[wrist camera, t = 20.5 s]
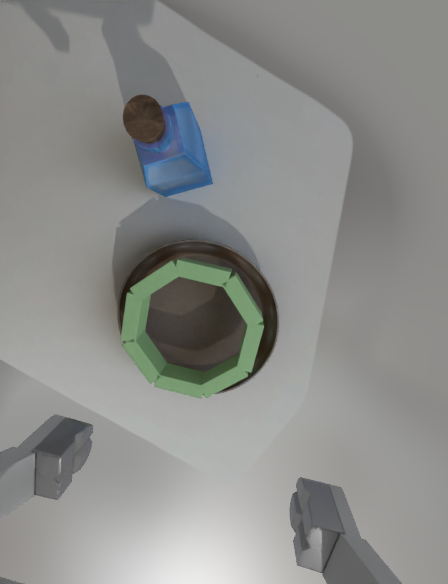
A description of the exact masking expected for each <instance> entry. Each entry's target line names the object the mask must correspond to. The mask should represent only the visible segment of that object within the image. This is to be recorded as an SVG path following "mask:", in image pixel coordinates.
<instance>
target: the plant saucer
mask: <svg viewBox="0 0 448 584" xmlns="http://www.w3.org/2000/svg"><path fill="white" fill-rule="evenodd" d="M181 258H188V259H192V260H197V261H201V262H205V263H210V264H214V265H218V266H222V267H227V268H231V269H232V271H231V275H232V274H233V273H235V272H237V274H238V275H239V277H240V279H241V280H242V282H243V283H244V285H245V287H246V288H247V290H248V291H249V293H250V295H251V296H252V298H253V300H254V301H255V303H256V304H257V306H258V308H259V309H260V311H261V312H262V317H263V323H264V328H263V332H262V336H261V339H260V343H259V347H258V350H257V354H256V358H255V361H254V365H253V368H252V372H248V377H246V378H244V379H242V380H240V381H238V382H236V383H234V384H232V385H230V386H229V387H227V388H225V389H223V390H221V391H219V392H217V393H215V394H219V393H224V392H227V391H230V390H233V389H235V388H238V387H240V386H241V385H243V384H245V383H246V382H248V381H249V380H251V379H252V378H253V377H254V376H256V375H257V374H258V373H259V372H260V371H261V369H262V368H263V367H264V366H265V364H266V363H267V362H268V360H269V358H270V356H271V355H272V352H273V350H274V348H275V345H276V342H277V337H278V332H279V312H278V306H277V302H276V299H275V296H274V293H273V291H272V288H271V287H270V285H269V283H268V281H267V280H266V278H265V277H264V275H263V274H262V273H261V271H260V270H259V269H258V268H257V267H256V266H255V265H254V264H253V263H252V262H251V261H250V260H249V259H247V258H246V257H245V256H243V255H242V254H240V253H239V252H237V251H235V250H233V249H231V248H229V247H227V246H224V245H222V244H219V243H215V242H211V241H205V240H183V241H177V242H173V243H169V244H166V245H164V246H161V247H159V248H157V249H155V250H153V251H152V252H150V253H149V254H147V255H146V256H145V257H143V258H142V259H141V260H140V261H139V262H138V263H137V264H136V265H135V266H134V268H133V269H132V270H131V272H130V273H129V275H128V276H127V278H126V280H125V282H124V284H123V287H122V289H121V293H120V296H119V301H118V324H119V330H120V333H121V332H122V325H123V318H124V311H125V303H126V296H127V293H128V292H130V291H131V290H130V288H131V287H132V286H134V285H135V284H137V283H138V282H140V281H141V280H143V279H144V278H146V277H147V276H149V275H150V274H152V273H153V272H155V271H157V270H158V269H160V268H161V267H163V266H164V265H166V264H167V263H169V262H170V261H172V260H175V259H181ZM245 324H246V322H245V321H244V319H243V318H242V316H241V314H240V313H239V311H238V310H237V308H236V307H235V305H234V303H233V302H232V300H231V299H230V297H229V296H228V294H227V292H226V291H225V289H224V288H223V287H220V286H216V285H212V284H208V283H203V282H199V281H195V280H191V279H187V278H182V277H177V278H176V279H174V280H173V281H171V282H169V283H168V284H166V285H165V286H163V287H162V288H160V289H159V290H157V291H155V292H154V293H152V294H151V298H150V304H149V310H148V316H147V323H146V329H145V332H146V334H147V335H148V336H149V338H150V339H151V341H152V342H153V343H154V345H155V346H156V348H157V349H158V350H159V352H160V353H161V355H162V356H163V358H164V359H165V360H166V362H167V363H169V364H173V365H177V366H181V367H185V368H189V369H193V370H197V371H201V372H206V371H208V370H210V369H212V368H214V367H216V366H217V365H219V364H221V363H223V362H225V361H227V360H228V359H230V358H232V357H234V356H236V355H238V351H239V348H240V344H241V340H242V336H243V332H244V328H245ZM123 342H126V341H123ZM203 395H204V394H203ZM213 395H214V394H213Z"/></svg>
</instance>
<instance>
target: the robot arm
mask: <svg viewBox="0 0 448 584" xmlns="http://www.w3.org/2000/svg"><path fill="white" fill-rule="evenodd" d="M92 433H93V425H91V424H89V423H85V422H81V421H78V420H75V419H71V418H67V417H63V416H60V415H54V416H52V417H50V418H49V419H48V420H47V421H46V422H45V423H44V424H42V425H41V426H40V427H39V428H38V429H37V430H36V431H35V432H34V433H33V434H32V435H30V436H29V437H28V438H27V439H26V440H25V441H24V442H23V443H22V444H21V445H20V446H18V447H17V448H16V447H12V448H9V449H7V450H4V451H2V452H0V519H1V518H3V517H4V516H5V515H7V514H9V513H10V512H11V511H13V510H14V509H16V508H17V507H19V506H20V505H22V504H23V503H25V502H26V501H28V500H29V499H31V498H32V497H34V495H38V496H43V497H47V498H51V499H56V500H59V498H60V497H61V495H62V494H63V493H64V491H65V490H66V489H67V487H68V486H69V484H70V483H71V482H72V474H74V473H75V472H77V471H79V470H80V469H81V468H82V466H83V465H84V463H85V462H86V460H87V458H88V456H89V454H90V450H91V446H92V441H91V440H90V438H89V437H90V435H91V434H92ZM296 487H297V492H295V493H293V495H292V498H291V503H290V521H291V526H292V528H293V529H294V531H295V533H296V535H295V538H294V540H293V542H294V549H295V556H296V562H297V565H298V566H301V567H305V568H308V569H311V570H314V571H317V572H320V573H323V577H324V579H325V580H326V582H327V584H402V583H401V582H400V581H399V579H398V578H397V577H396V576H395V575H394V573H393V572H392V571H391V570H390V569H389V567H388V566H387V565H386V564H385V563H384V561H383V560H382V559H381V558H380V557H379V555H378V554H377V553H376V552H375V551H374V549H373V548H372V547H371V546H370V545H369V543H368V542H367V541H366V540H364V539H361V537H360V534H359V531H358V529H357V526H356V523H355V521H354V518H353V515H352V513H351V510H350V508H349V505H348V502H347V500H346V497H345V494H344V492H343V490H342V488H341V487H337V486H333V485H330V484H326V483H322V482H318V481H314V480H310V479H305V478H301V477H300V478H299V479H298V481H297V484H296ZM0 584H23V583H19V582H16V581H12V580H9V579H5V578H2V577H0Z"/></svg>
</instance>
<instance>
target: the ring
mask: <svg viewBox="0 0 448 584" xmlns="http://www.w3.org/2000/svg"><path fill="white" fill-rule="evenodd" d="M231 271H232V269H231V268H227V267H222V266H218V265H214V264H210V263H205V262H201V261H197V260H192V259H188V258H181V259H175V260H172V261H170V262H169V263H167V264H166V265H164V266H163V267H161V268H160V269H158V270H157V271H155V272H153V273H152V274H150V275H149V276H147V277H146V278H144V279H143V280H141V281H140V282H138V283H137V284H135V285H134V286H132V287H131V288H130V290H131V291H130V292H128V293H127V296H126V303H125V311H124V318H123V325H122V332H121V340H122V341H126V342H124V343H123V344H122V346H123V348H124V349H125V350H126V352H127V353H128V354H129V356H130V357H131V358H132V360H133V361H134V363H135V364H136V365H137V367H138V368H139V369H140V371H141V372H142V374H143V375H144V376H145V378H146V379H147V380H148V382H149V383H150V384H151V383H153V382H155V387H157V388H161V389H165V390H169V391H173V392H177V393H181V394H185V395H189V396H193V397H197V398H202V395H203V394H204V396H205V397H206V398H207V397H209V396H211V395H213V394H215V393H217V392H219V391H221V390H223V389H225V388H227V387H229V386H230V385H232V384H234V383H236V382H238V381H240V380H242V379H244V378H246V377H248V372H252V368H253V365H254V361H255V358H256V354H257V350H258V347H259V343H260V339H261V336H262V332H263V328H264V323H263V317H262V312H261V311H260V309H259V308H258V306H257V304H256V303H255V301H254V300H253V298H252V296H251V295H250V293H249V291H248V290H247V288H246V287H245V285H244V283H243V282H242V280H241V279H240V277H239V275H238V274H237V272H235V273H233V274H232V275H231ZM177 277H182V278H187V279H191V280H195V281H199V282H203V283H208V284H212V285H216V286H220V287H223V288H224V289H225V291H226V292H227V294H228V296H229V297H230V299H231V300H232V302H233V303H234V305H235V307H236V308H237V310H238V311H239V313H240V314H241V316H242V318H243V319H244V321H245V322H246V324H245V328H244V332H243V336H242V340H241V344H240V348H239V351H238V355H236V356H234V357H232V358H230V359H228V360H227V361H225V362H223V363H221V364H219V365H217V366H216V367H214V368H212V369H210V370H208V371H206V372H201V371H197V370H193V369H189V368H185V367H181V366H177V365H173V364H169V363H167V362H166V360H165V359H164V358H163V356H162V355H161V353H160V352H159V350H158V349H157V348H156V346H155V345H154V343H153V342H152V341H151V339H150V338H149V336H148V335H147V334H146V332H145V329H146V323H147V316H148V310H149V304H150V298H151V294H152V293H154V292H155V291H157V290H159V289H160V288H162V287H163V286H165V285H166V284H168V283H169V282H171V281H173V280H174V279H176V278H177Z"/></svg>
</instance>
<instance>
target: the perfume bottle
mask: <svg viewBox="0 0 448 584" xmlns="http://www.w3.org/2000/svg"><path fill="white" fill-rule="evenodd" d="M123 122H124V126H125V128H126V131H127V132H128V133H129V135H130V136H131V137H132V139H133V140H134V144H135V147H136V151H137V155H138V158H139V162H140V165H141V169H142V172H143V176H144V179H145V183H146V186H147V187H148V188H150V189H151V190H153V191H155V192H157V193H159V194H161V195H163V196H165V197H167V196H170V195H174V194H177V193H181V192H185V191H188V190H192V189H195V188H199V187H203V186H206V185H210V184H213V183H212V178H211V174H210V170H209V166H208V161H207V157H206V153H205V148H204V144H203V140H202V136H201V131H200V128H199V126H198V123H197V121H196V119H195V116H194V114H193V111H192V109H191V107H190V104H189V102H185V103H179V104H173V105H170V106H167V107H164V108H163V107H162V106H160V105H159V104H158V102H157V101H156V100H155V99H153V98H152V97H150V96H147V95H137V96H135V97H133V98H132V99H130V101H129V102H128V103H127V104H126V106H125V109H124V113H123Z"/></svg>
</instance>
